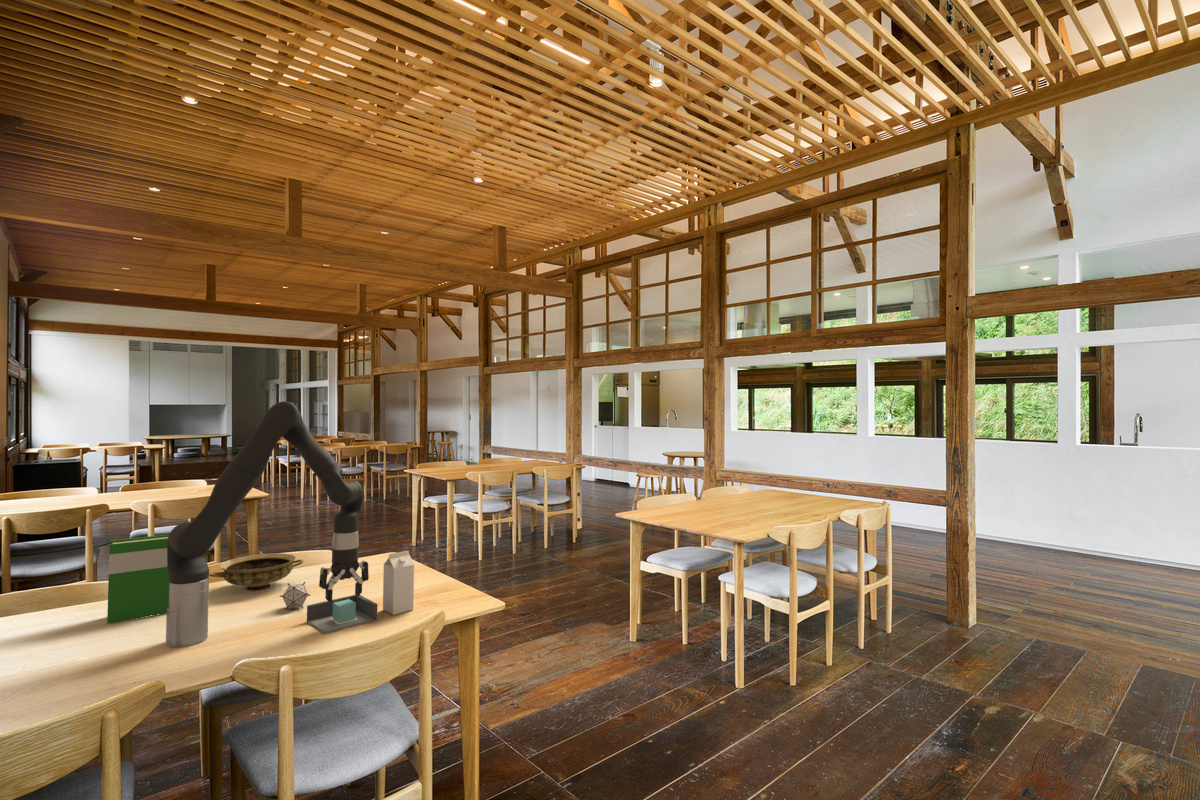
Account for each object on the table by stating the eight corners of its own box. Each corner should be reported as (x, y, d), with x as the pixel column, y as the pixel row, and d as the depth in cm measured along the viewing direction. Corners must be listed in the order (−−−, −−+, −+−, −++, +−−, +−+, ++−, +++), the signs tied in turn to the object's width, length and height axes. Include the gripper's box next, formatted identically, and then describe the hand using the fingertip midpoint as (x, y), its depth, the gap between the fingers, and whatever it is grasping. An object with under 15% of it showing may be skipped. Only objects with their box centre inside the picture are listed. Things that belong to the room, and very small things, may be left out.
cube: (339, 623, 175) (339, 606, 175) (332, 619, 178) (332, 602, 178) (355, 618, 179) (355, 602, 179) (348, 614, 182) (348, 599, 182)
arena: (324, 634, 168) (324, 616, 168) (306, 621, 178) (307, 605, 178) (377, 620, 180) (377, 604, 180) (357, 609, 189) (358, 593, 189)
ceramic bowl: (296, 573, 230) (297, 548, 230) (310, 588, 211) (311, 561, 211) (205, 587, 211) (206, 560, 211) (212, 604, 192) (213, 574, 192)
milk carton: (382, 610, 189) (383, 552, 189) (402, 604, 194) (403, 548, 194) (393, 615, 184) (394, 556, 184) (413, 610, 189) (414, 552, 190)
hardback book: (107, 623, 174) (109, 544, 175) (107, 616, 180) (109, 540, 180) (178, 611, 186) (180, 537, 186) (177, 605, 191) (179, 533, 192)
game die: (296, 620, 189) (293, 602, 183) (275, 609, 190) (272, 590, 185) (317, 600, 196) (314, 581, 190) (297, 589, 198) (294, 571, 192)
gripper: (326, 551, 171) (324, 606, 170) (373, 544, 181) (371, 596, 181) (317, 547, 176) (315, 600, 176) (363, 540, 186) (361, 590, 186)
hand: (343, 598), depth 178 cm, fingers open, 8 cm apart
